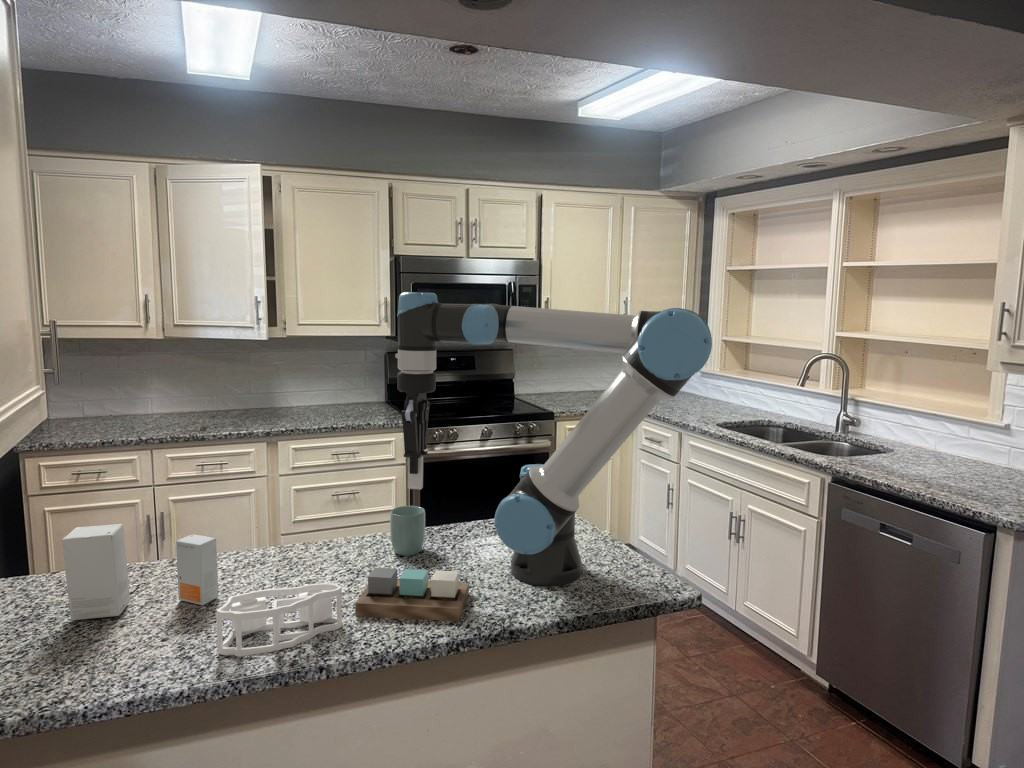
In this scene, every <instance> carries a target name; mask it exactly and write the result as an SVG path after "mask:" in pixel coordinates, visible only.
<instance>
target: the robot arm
mask: <svg viewBox="0 0 1024 768" xmlns="http://www.w3.org/2000/svg"><path fill="white" fill-rule="evenodd" d="M396 316H397V353H395V355H394V357H395V358H396V359H397V369H398V370H399V371H398V373H397V381H396V383H397V384H396V385H397V386H396V389H397V390H398V392H400V393H405V394H406V398H405V401H404V402H403V410H401V411H400V412H401V413H400V416H401V420H402V428H403V429H402V431H403V432H402V433H403V445H404V446H403V447H404V454H403V457H404V458H407V489H408V490H422V489H423V488H424V456H427V455H428V451H425V450H427V441H428V440H427V439H428V428H429V427H428V425H429V413H430V407H431V403H430V401H429V400H428V399H427V394H430V393H433V392H435V391H436V389H437V388H436V387H437V385H436V384H437V374H436V373H435V372H434V371H435V370H436V369H437V343H452V344H464V345H465V344H466V345H467V344H468V345H472V346H473V345H474V346H477V345H490V344H493V343H494V342H499V343H500V342H503V343H514V344H515V343H517V344H527V345H534V346H546V347H555V348H557V347H558V348H565V349H567V348H568V349H578V350H588V351H597V352H608V353H617V354H622V355H621V362H622V363H621V364H622V368H621V370H620V371H619V373H617V375H616V376H615V377H614V379H613V380H612V381H611V382H610V384H609V385H608V386H607V388H606V389H604V391H603V392H602V393H601V395H600V396H599V397H598V398H597V399H596V401H595V402H594V403H593V404H592V405H591V407H590V408H589V409H588V411H587V412H585V414H584V415H583V416H582V418H581V419H580V420H579V421H578V423H577V424H576V425H575V427H574V428H573V429H572V430H571V431H570V433H569V434H568V435H567V436H566V438H564V440H563V441H562V443H561V444H560V445H559V446H558V447H557V448H556V450H555V451H554V452H553V453H552V454H551V456H549V458H548V459H547V460H546V461H545V463H544V464H542V463H536V464H530V463H529V464H524V465H523V466H521V468H520V474H519V479H520V480H519V482H518V483H517V485H516V486H515V487H514V489H512V491H511V492H510V493H509V494H508V495H507V496H506V497H503V499H502V500H501V501H500V502H499V504H498V506H497V508H496V510H495V514H494V521H493V522H494V527H495V531H496V533H497V537H498V538H499V539H500V541H501V542H502V543H503V544H504V545H505V546H506V547H508V548H509V549H510V550H512V551H513V554H512V557H511V561H510V572H511V575H512V576H513V577H514V578H516V580H519V581H521V582H524V583H527V584H530V585H536V586H544V587H551V586H552V587H553V586H554V587H556V586H562V585H566V584H567V585H568V584H571V583H574V582H576V581H577V580H579V579H580V578H581V577H582V574H583V562H582V558H581V555H580V554H581V553H580V552H579V548H578V545H577V541H576V539H575V538H576V537H575V534H576V533H575V530H576V529H575V528H576V527H575V525H576V512H577V511H578V510H579V508H580V501H579V500H580V499H579V497H580V494H582V492H583V491H584V490H585V489H586V488H587V486H589V484H590V483H591V482H592V481H593V479H595V477H596V476H598V475H597V474H599V472H601V470H602V469H603V468H604V466H606V464H607V463H608V461H610V459H612V457H613V456H614V455H615V454H616V452H617V451H618V450H619V449H620V448H621V446H622V445H624V443H625V442H626V441H627V439H629V437H630V436H631V435H632V434H633V432H634V431H635V430H636V429H637V428H638V426H640V424H641V423H642V422H643V421H644V420H645V418H646V417H647V416H648V415H649V414H650V413H651V412H652V410H653V409H654V408H655V407H656V405H657V404H658V403H659V402H660V401H661V400H664V399H674V398H675V397H676V395H678V393H679V392H680V391H681V390H682V388H683V387H685V385H686V384H687V383H688V382H689V380H691V378H692V377H693V376H694V375H695V374H696V373H698V372H700V371H701V370H702V369H703V368H704V366H705V365H706V364H707V362H708V361H709V358H710V356H711V353H712V349H713V337H712V332H711V330H710V327H709V325H708V323H707V322H706V320H705V319H704V318H703V317H702V316H701V315H700V314H698V313H696V312H695V311H693V310H690V309H686V308H681V307H673V308H667V309H663V310H659V311H653V310H652V311H651V310H639V311H638V312H637V313H635V314H623V313H622V314H620V313H609V312H607V313H606V312H597V311H596V312H595V311H585V310H584V311H580V310H568V309H559V308H558V309H557V308H544V307H530V306H529V307H528V306H517V305H507V304H505V305H504V304H502V305H501V304H498V303H472V304H471V303H444V302H443V303H441V302H439V301H438V295H437V294H436V293H434V292H417V291H416V292H415V291H413V292H411V291H404V292H402V293H400V294H399V296H398V305H397V314H396Z"/></svg>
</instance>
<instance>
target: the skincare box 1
mask: <svg viewBox="0 0 1024 768" xmlns="http://www.w3.org/2000/svg"><path fill="white" fill-rule="evenodd" d="M124 530H125V529H124V524H123V523H117V524H116V523H115V524H103V525H91V526H90V525H89V526H78V527H75V528H74V529H72V530H71V532H69V533H68V534H67V535H65V536H64V537H63V538H62V539H61V542H62V544H61V545H62V553H63V554H62V555H63V561H64V563H63V564H64V571H65V579H66V589H67V597H68V598H67V599H68V607H69V615H70V621H79V620H89V619H90V620H92V619H100V618H108V617H110V618H111V617H119V616H120V615H121V614H122V613H123V611H124V610H125V609H126V607H127V606H128V605H129V603H130V602H131V594H130V583H129V574H128V562H127V561H128V560H127V552H126V551H127V550H126V543H125V542H126V541H125V534H124V533H125V531H124Z"/></svg>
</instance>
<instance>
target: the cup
mask: <svg viewBox="0 0 1024 768" xmlns="http://www.w3.org/2000/svg"><path fill="white" fill-rule="evenodd" d="M389 529H390V530H389V532H390V533H389V534H390V541H391V546H392V549H393V551H394V553H396V554H397V555H399V556H406V557H409V556H411V557H412V556H415V555H417V554H419V553H420V552H421V551H422V549H423V547H424V543H425V539H426V510H425V508H424V507H420V506H417V505H401V506H397V507H394V508H392V509H391V511H390V514H389Z"/></svg>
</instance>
